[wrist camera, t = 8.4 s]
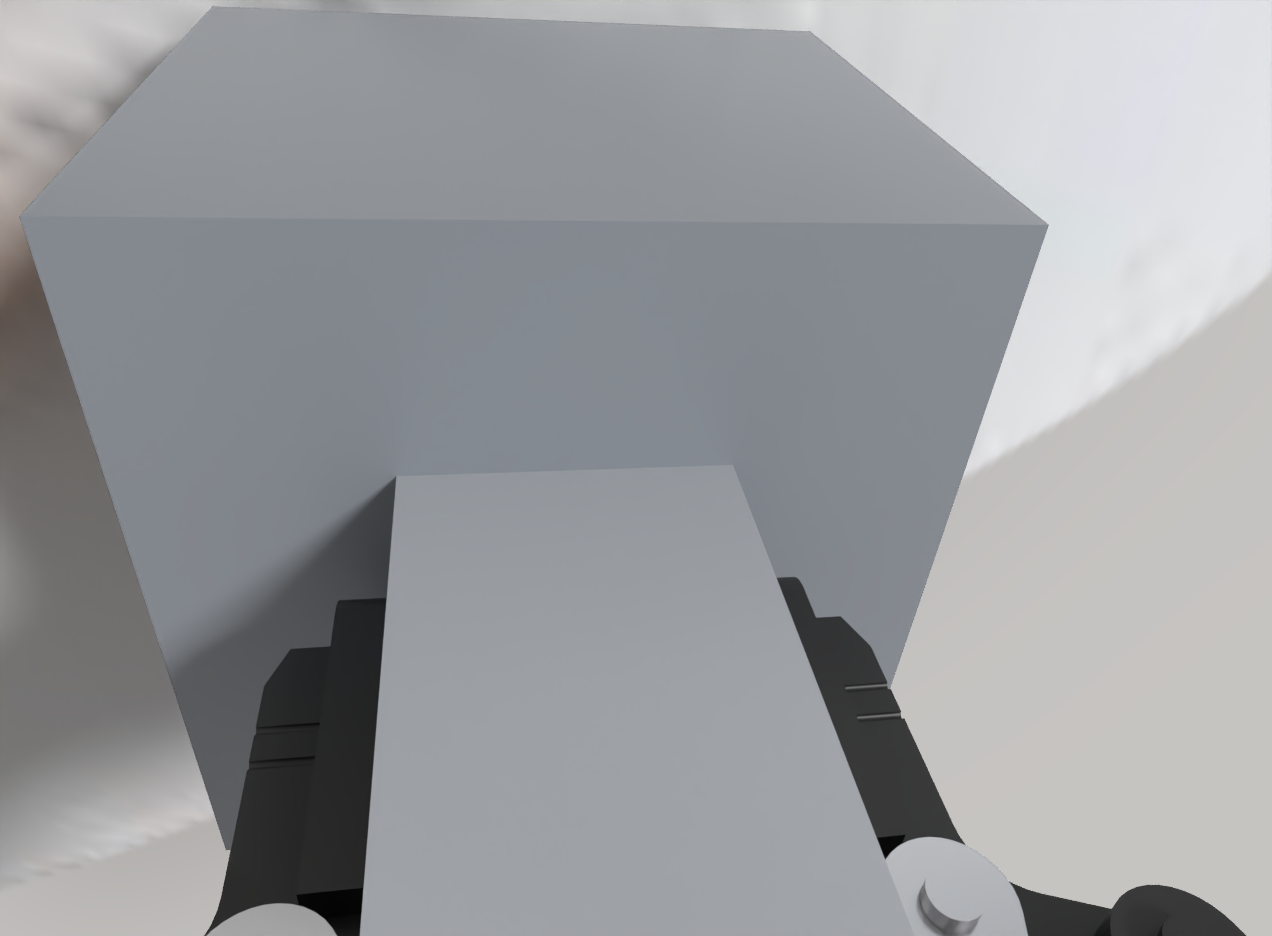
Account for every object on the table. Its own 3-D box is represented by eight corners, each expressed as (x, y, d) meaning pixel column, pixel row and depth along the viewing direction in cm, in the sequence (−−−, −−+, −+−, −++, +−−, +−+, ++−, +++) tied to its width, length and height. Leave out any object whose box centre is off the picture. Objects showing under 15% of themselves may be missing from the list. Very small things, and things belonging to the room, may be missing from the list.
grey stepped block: (810, 31, 17) (1548, 631, 6) (735, 480, 23) (1016, 1217, 12) (212, 6, 16) (-500, 781, 4) (299, 495, 22) (117, 1372, 10)
